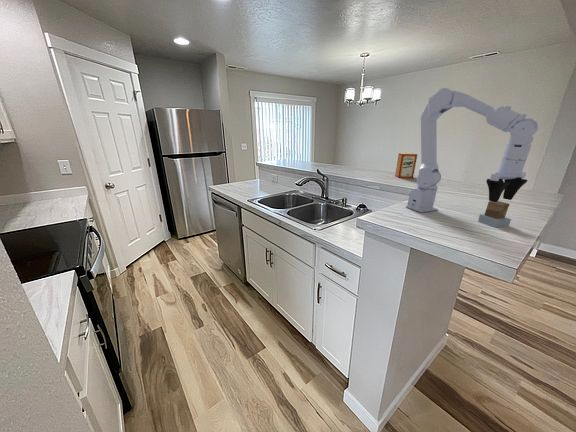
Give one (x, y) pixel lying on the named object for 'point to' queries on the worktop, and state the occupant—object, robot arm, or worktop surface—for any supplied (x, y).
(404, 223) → the worktop surface
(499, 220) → the slate slab
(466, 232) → the worktop surface
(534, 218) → the worktop surface
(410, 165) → the baking soda box
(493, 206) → the walnut block
